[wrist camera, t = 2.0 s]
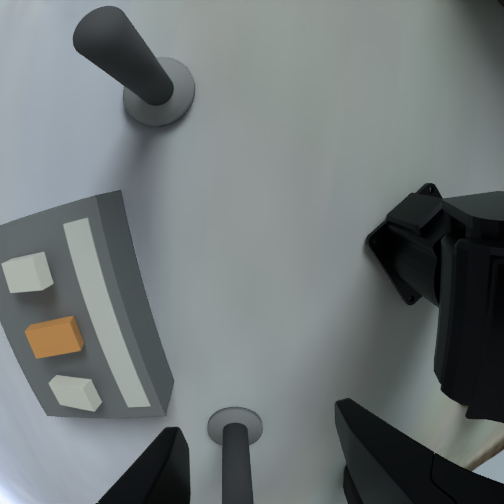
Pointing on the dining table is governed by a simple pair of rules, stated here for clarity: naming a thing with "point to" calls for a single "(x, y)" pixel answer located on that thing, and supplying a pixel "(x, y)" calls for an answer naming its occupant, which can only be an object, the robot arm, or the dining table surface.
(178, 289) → the dining table surface
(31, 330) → the block
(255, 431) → the cable post
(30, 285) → the pale grey rectangular block
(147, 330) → the board
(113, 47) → the post
